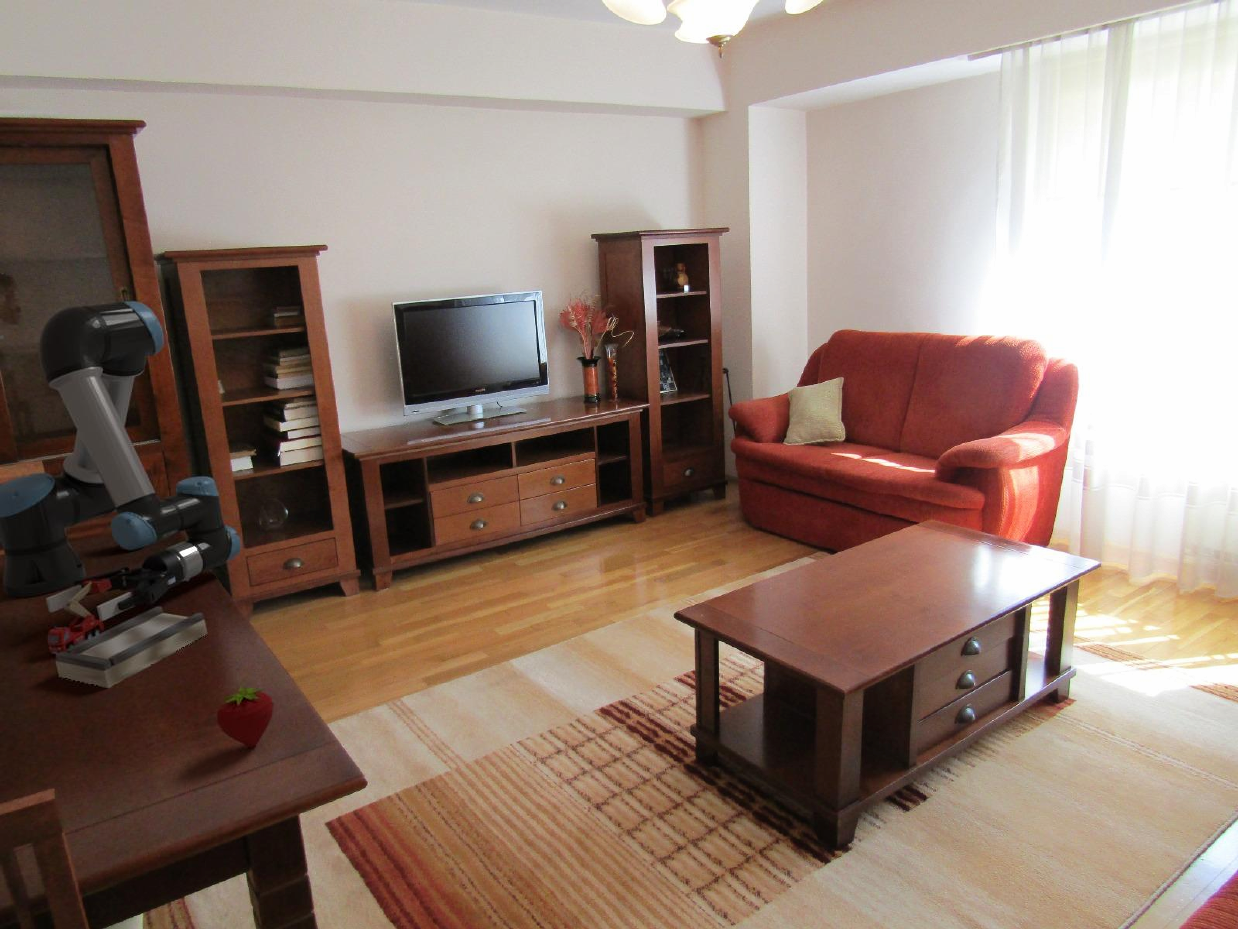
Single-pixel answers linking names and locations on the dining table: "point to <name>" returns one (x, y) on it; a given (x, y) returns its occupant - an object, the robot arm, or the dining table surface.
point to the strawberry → (246, 715)
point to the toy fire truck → (78, 619)
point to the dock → (129, 647)
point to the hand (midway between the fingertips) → (73, 609)
